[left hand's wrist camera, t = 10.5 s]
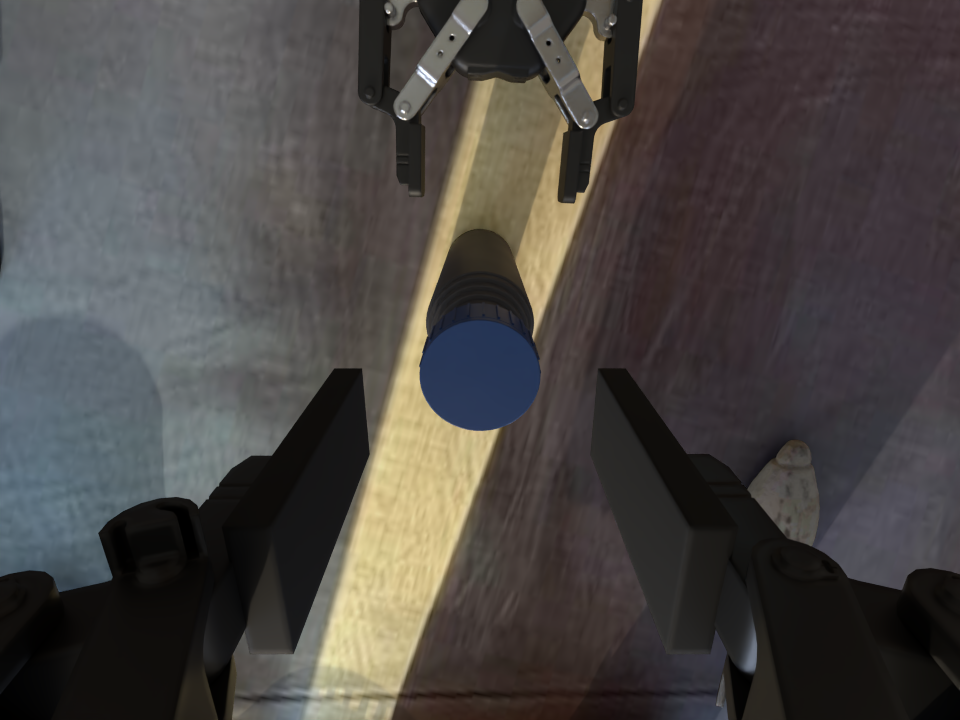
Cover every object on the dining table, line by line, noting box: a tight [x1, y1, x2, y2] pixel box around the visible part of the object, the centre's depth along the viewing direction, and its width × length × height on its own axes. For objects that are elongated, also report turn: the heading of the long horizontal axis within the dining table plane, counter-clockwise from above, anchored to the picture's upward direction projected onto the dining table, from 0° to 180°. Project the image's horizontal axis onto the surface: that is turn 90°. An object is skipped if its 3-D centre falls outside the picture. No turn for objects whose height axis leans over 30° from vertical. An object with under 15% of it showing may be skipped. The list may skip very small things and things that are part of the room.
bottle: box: [426, 229, 534, 337], centre depth 27 cm, size 5×5×20 cm
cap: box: [419, 302, 541, 431], centre depth 18 cm, size 4×4×2 cm
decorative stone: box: [747, 440, 820, 546], centre depth 42 cm, size 6×16×3 cm, turn 179°
